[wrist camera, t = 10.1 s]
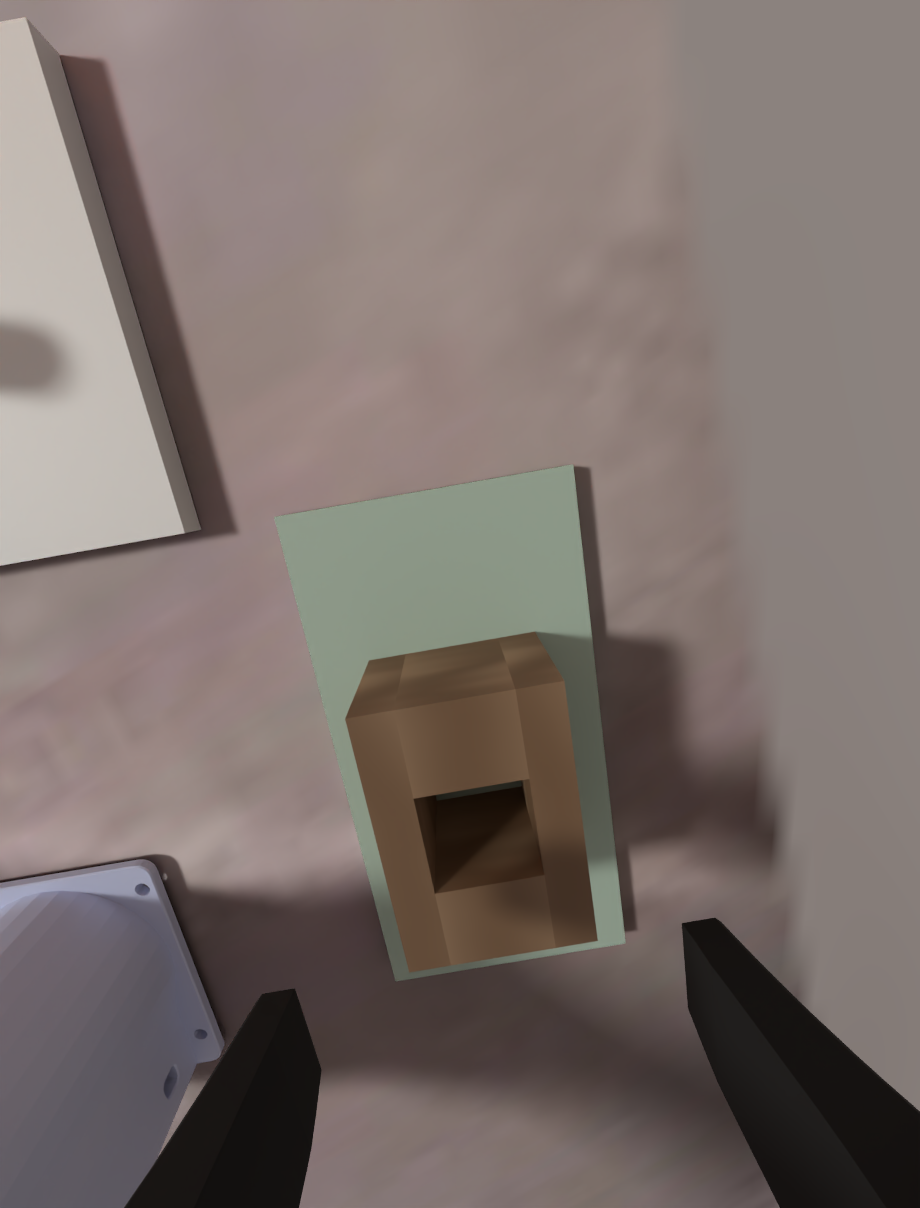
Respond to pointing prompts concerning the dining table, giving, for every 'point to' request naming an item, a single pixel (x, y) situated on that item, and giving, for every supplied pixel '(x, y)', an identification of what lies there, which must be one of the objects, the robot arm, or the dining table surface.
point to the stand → (70, 340)
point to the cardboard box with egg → (474, 800)
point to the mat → (456, 632)
